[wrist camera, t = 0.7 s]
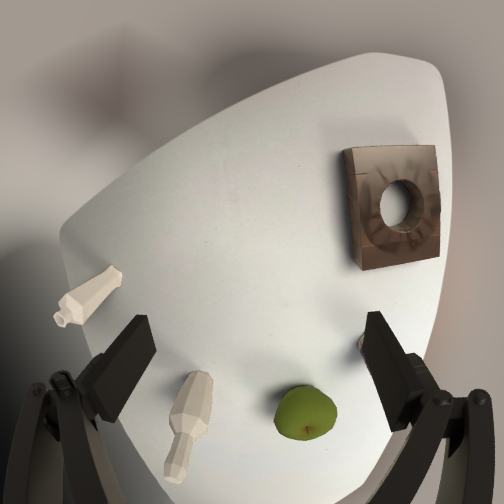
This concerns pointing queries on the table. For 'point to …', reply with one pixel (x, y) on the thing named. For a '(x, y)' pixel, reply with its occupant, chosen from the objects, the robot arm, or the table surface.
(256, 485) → the table surface
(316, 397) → the apple
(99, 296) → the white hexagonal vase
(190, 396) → the faceted bottle
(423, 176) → the hole plate
